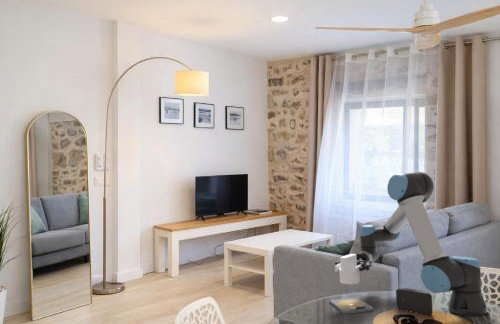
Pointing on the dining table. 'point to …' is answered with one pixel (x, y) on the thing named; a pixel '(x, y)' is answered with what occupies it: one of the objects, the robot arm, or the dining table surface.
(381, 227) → the robot arm
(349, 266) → the base with upright slab
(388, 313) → the dining table surface
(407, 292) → the black two-tone rounded device
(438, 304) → the dining table surface
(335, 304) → the plate
